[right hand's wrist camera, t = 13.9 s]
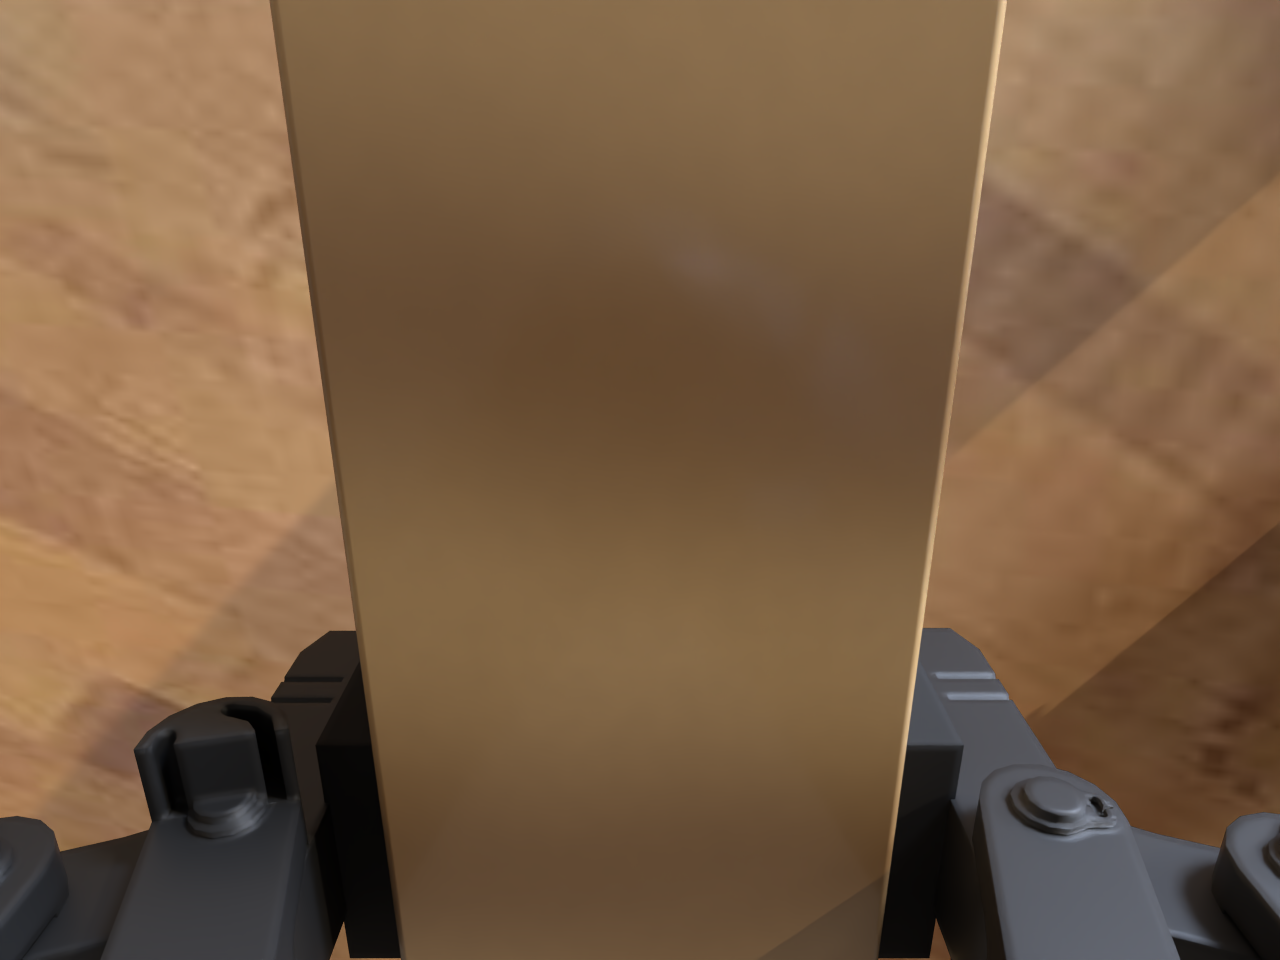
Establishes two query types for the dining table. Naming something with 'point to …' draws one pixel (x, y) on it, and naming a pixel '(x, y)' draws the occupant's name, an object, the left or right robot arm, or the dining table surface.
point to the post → (638, 445)
